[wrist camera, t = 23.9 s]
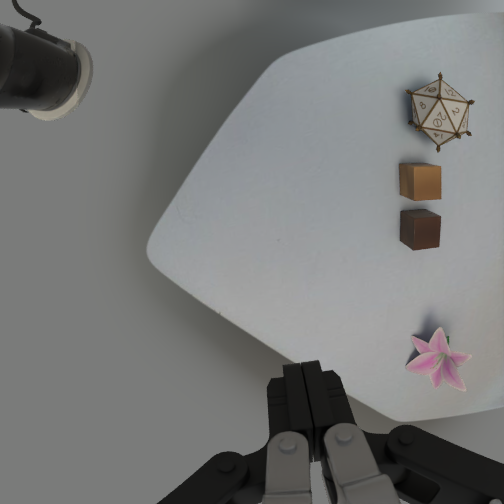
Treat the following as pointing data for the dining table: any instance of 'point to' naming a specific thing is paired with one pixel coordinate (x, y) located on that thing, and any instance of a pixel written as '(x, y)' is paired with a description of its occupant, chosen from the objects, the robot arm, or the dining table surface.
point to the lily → (438, 361)
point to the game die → (440, 112)
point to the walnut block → (420, 229)
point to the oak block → (420, 181)
